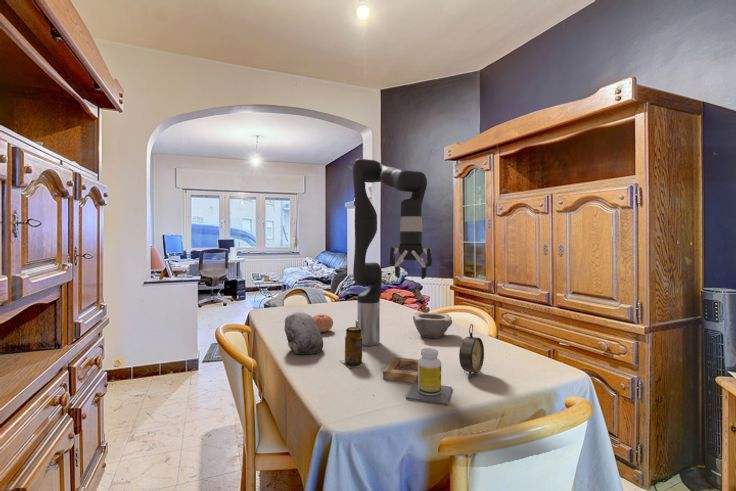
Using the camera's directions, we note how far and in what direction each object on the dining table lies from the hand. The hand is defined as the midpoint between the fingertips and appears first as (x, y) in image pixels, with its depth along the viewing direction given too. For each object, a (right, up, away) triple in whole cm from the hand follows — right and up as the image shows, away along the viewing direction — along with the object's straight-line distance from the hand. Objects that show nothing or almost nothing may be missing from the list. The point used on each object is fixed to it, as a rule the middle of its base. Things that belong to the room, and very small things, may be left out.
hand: (410, 278), depth 124 cm
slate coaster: (+3, -31, -21) cm, 37 cm away
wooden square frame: (-1, -30, -6) cm, 31 cm away
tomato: (-36, -29, +45) cm, 65 cm away
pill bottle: (+3, -30, -21) cm, 37 cm away
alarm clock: (+19, -30, -7) cm, 36 cm away
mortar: (+14, -29, +38) cm, 50 cm away
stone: (-39, -30, +17) cm, 52 cm away
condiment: (-19, -30, +3) cm, 36 cm away
